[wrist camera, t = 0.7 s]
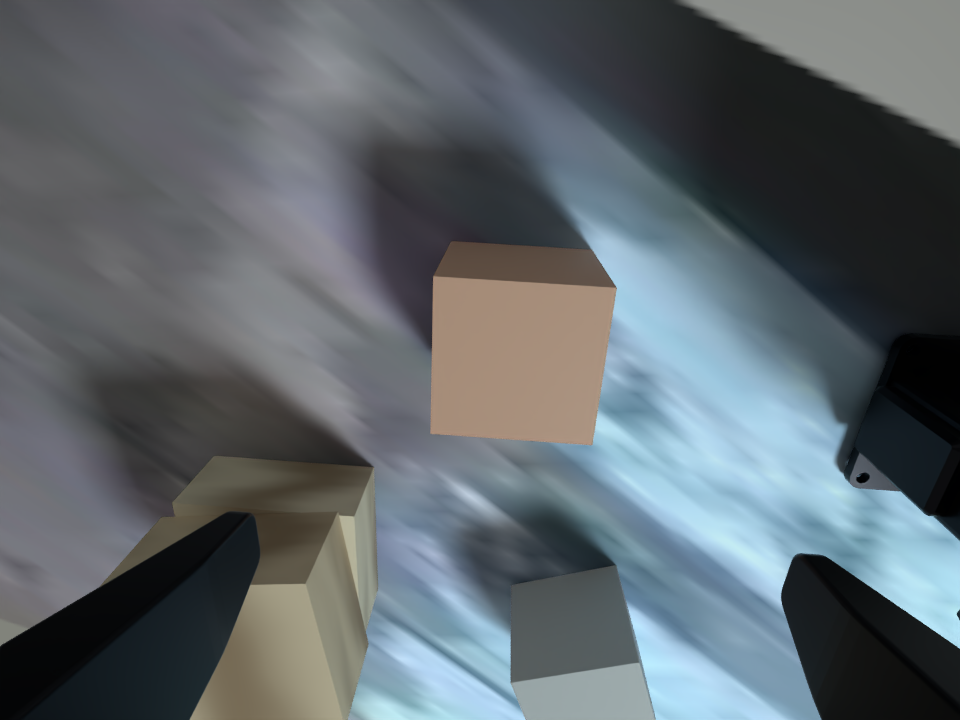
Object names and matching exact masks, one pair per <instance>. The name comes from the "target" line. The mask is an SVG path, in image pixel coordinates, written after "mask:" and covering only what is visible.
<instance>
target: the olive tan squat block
mask: <svg viewBox="0 0 960 720" xmlns="http://www.w3.org/2000/svg"><path fill="white" fill-rule="evenodd" d="M172 506H173V510H174V515H175V517H180V516H211V515H222V514H224V513H226V512H228V511H241V512H250V513H252V514H274V513H305V512H337V511H338V513H339V517H340V522H341V526H342V531H343V535H344V539H345V544H346V548H347V552H348V557H349V561H350V565H351V570H352V574H353V578H354V583H355V587H356V591H357V596H358V600H359V605H360V609H361V613H362V618H363V622H364V626H365V631H366V629H367V626H368V622H369V619H370V615H371V612H372V608H373V605H374V601H375V598H376V594H377V591H378V574H377V544H376V514H375V484H374V467H363V466H349V465H336V464H322V463H308V462H294V461H280V460H267V459H253V458H239V457H225V456H213V457H212V459H211V460H210V461H209V462H208V463H207V464H206V465H205V466H204V468H203V469H202V470H201V471H200V472H199V473H198V474H197V475H196V477H195V478H194V479H193V480H192V481H191V482H190V483H189V484H188V485H187V487H186V488H185V489H184V490H183V491H182V492H181V493H180V494H179V496H178V497H177V498H176V499H175V500H174V501H173V502H172Z"/></svg>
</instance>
